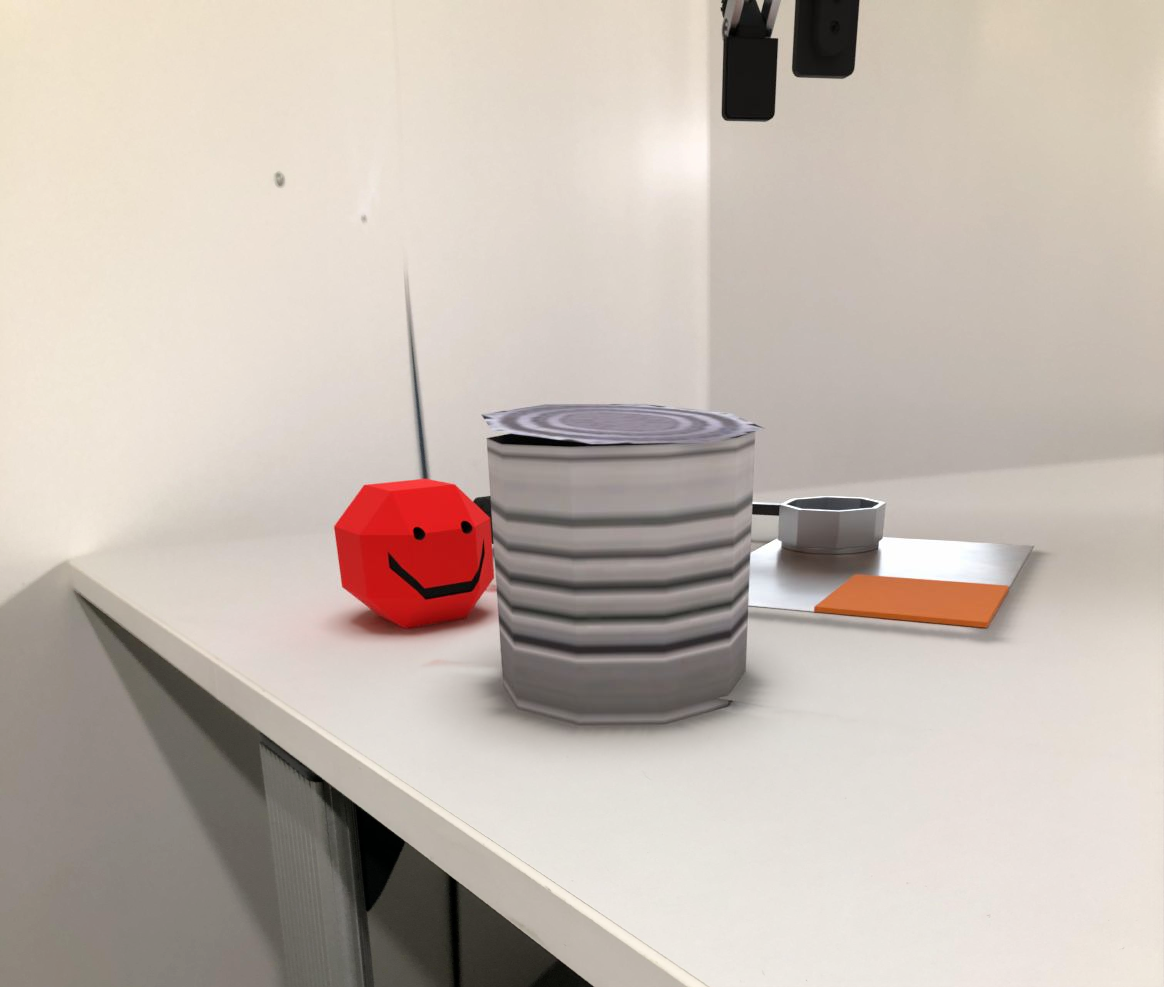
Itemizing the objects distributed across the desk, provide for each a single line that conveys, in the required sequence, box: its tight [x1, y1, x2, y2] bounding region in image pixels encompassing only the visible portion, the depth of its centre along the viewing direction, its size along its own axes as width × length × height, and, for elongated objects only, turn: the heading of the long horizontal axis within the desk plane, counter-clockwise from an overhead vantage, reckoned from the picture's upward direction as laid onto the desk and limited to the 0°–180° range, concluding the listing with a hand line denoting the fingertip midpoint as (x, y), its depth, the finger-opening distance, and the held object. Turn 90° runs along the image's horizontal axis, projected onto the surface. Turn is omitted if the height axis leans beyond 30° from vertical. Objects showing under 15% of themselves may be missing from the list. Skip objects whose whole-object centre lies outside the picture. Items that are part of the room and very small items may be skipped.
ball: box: [333, 478, 495, 630], centre depth 55 cm, size 8×8×8 cm
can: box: [481, 403, 766, 726], centre depth 42 cm, size 11×11×12 cm
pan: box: [752, 495, 887, 554], centre depth 71 cm, size 13×7×3 cm, turn 61°
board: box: [748, 536, 1035, 630], centre depth 63 cm, size 24×18×1 cm
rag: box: [814, 574, 1010, 628], centre depth 54 cm, size 9×9×1 cm
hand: (782, 100), depth 53 cm, fingers open, 9 cm apart
